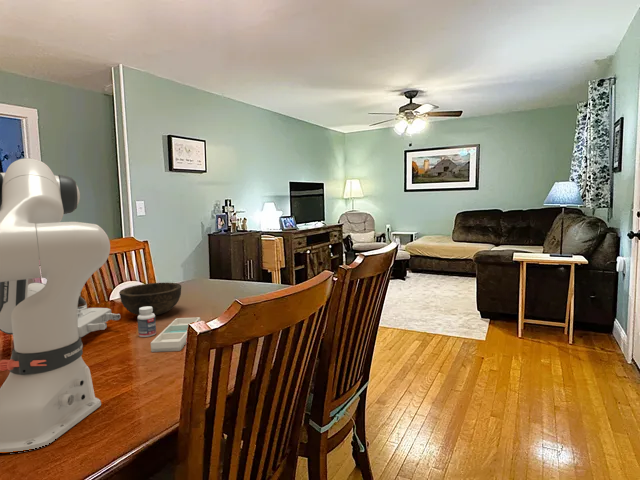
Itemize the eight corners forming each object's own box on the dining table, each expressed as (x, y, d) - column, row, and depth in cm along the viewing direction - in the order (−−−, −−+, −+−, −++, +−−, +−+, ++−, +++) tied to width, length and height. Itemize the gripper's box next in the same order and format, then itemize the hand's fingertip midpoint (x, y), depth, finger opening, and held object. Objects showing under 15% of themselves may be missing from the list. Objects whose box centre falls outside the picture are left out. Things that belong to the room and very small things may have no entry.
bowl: (184, 318, 148) (182, 291, 147) (118, 326, 140) (116, 298, 139) (181, 304, 168) (180, 280, 167) (123, 310, 160) (121, 286, 159)
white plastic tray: (180, 350, 116) (179, 341, 115) (151, 352, 115) (150, 342, 115) (200, 325, 139) (200, 317, 139) (176, 326, 139) (176, 318, 138)
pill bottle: (149, 337, 128) (147, 310, 127) (135, 337, 129) (133, 309, 128) (159, 332, 133) (157, 305, 132) (145, 331, 134) (143, 305, 133)
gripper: (47, 323, 118) (95, 321, 119) (84, 305, 139) (125, 303, 139) (49, 344, 119) (97, 342, 120) (86, 323, 139) (127, 321, 140)
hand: (112, 321), depth 130 cm, fingers open, 8 cm apart
